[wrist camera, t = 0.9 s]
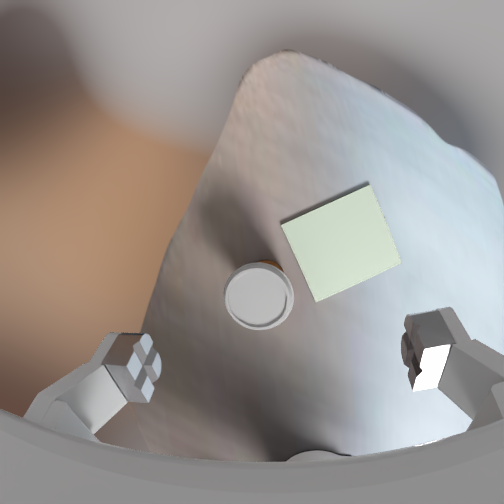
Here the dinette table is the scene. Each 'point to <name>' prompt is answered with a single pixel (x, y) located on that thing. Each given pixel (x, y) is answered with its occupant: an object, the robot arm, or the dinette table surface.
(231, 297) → the disposable coffee cup
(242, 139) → the dinette table surface
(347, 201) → the mat
